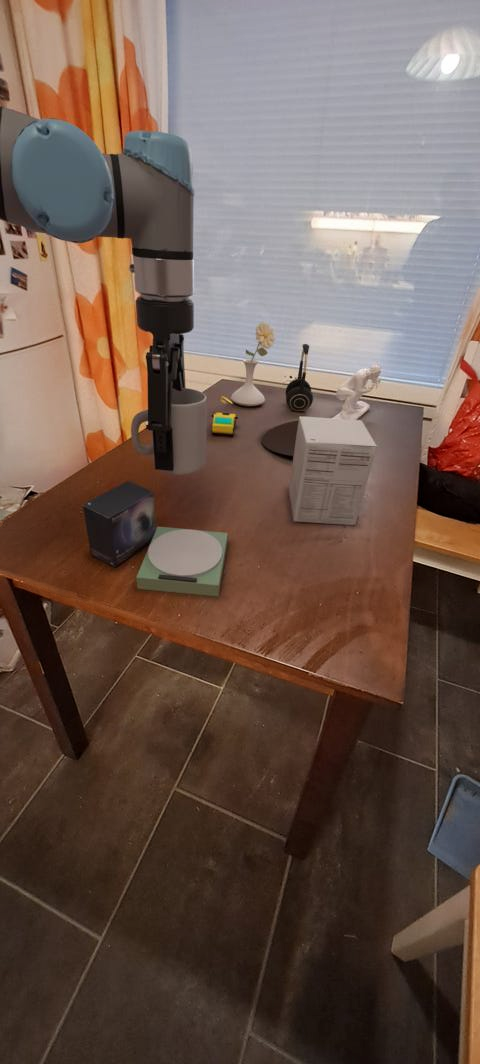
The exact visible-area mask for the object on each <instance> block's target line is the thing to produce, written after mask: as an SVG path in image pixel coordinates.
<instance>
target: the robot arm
mask: <svg viewBox="0 0 480 1064" xmlns="http://www.w3.org/2000/svg"><path fill="white" fill-rule="evenodd" d="M195 194H196V193H195V187H194V169H193V151H192V149H191V146H190V144H189V143H188V142H187V141H186V139H184V138H183V137H181V136H178V135H175V134H172V133H167V132H161V131H155V130H151V131H149V130H148V131H147V130H132V131H129V132H127V133H126V134H125V135H124V138H123V148H122V153H104V152H102V151H101V150H100V148H99V146H98V145H97V144H96V143H95V141H94V140H93V139H91V137H90V136H89V135H88V134H86V132H84V130H82V129H80V128H79V127H77V126H76V125H74V124H72V123H70V122H68V121H65V120H62V119H58V118H54V117H51V118H40V119H39V118H36V117H34V116H31V115H28V114H26V113H23V112H20V111H17V110H14V109H12V108H9V107H4V106H2V105H0V221H4V222H7V223H9V224H12V225H16V226H20V227H23V229H25V230H26V231H28V232H31V233H39V234H46V235H47V236H51V237H53V238H55V239H58V240H59V241H65V242H69V243H73V244H85V243H88V242H90V241H93V240H95V238H114V239H115V238H117V239H129V240H130V242H131V254H132V263H130V264H129V267H128V269H129V271H130V273H132V274H134V277H133V279H134V280H133V282H134V290H135V292H136V293H138V294H139V296H138V297H137V298H136V299H135V313H136V324H137V327H138V329H140V330H141V331H143V332H145V333H148V332H149V333H150V334H151V335H152V344H151V345H149V351H147V352H146V354H145V362H146V371H147V410H148V421H147V424H145V429H146V430H148V431H151V432H152V431H153V445H154V461H155V465H154V470H157V471H160V470H168V471H173V469H174V463H173V434H172V428H171V425H170V421H171V404H172V388H173V389H175V390H178V391H181V388H187V387H186V386H187V385H186V371H185V370H186V368H185V354H184V353H185V351H184V350H185V349H184V347H185V346H184V345H185V344H184V341H185V337H184V334H187V333H190V332H192V331H193V330H194V328H195V312H194V311H195V309H194V308H195V307H194V306H195V303H194V302H193V300H192V299H191V297H192V296H193V295H194V294H195V259H194V201H195V200H194V197H195Z"/></svg>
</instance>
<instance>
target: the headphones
mask: <svg viewBox="0 0 480 1064" xmlns="http://www.w3.org/2000/svg"><path fill="white" fill-rule="evenodd" d="M309 351H310V345H309V344H308V343H303V344H302V352H301V357H300V361H299V368H298V374H297V378H295V379H294V380H293V379H292V380H291V381H290V382H289V383H288V384H287V386H286V387H285V403H286V405H287V407H288V408H289V409H290V410H292V411H295V412H303V411H306V410H308V409H309V408H310V407H311V406H312V404H313V401H314V395H313V393H312V387H311V385H310V383H309V382H308V381H307V380H306V375H307V366H308V365H307V364H308V355H309Z"/></svg>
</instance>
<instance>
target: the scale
mask: <svg viewBox="0 0 480 1064" xmlns="http://www.w3.org/2000/svg"><path fill="white" fill-rule="evenodd" d="M155 530H156V531H155V534H154V536H153V539H152V541H151V543H150V544H149V546H148V548H147V551H146V553H145V555H144V558H143V560H142V563H141V565H140V568H139V570H138V572H137V574H136V577H135V579H136V586H137V587H136V588H137V589H138V590H146V591H156V592H165V593H167V592H168V593H176V594H186V595H195V596H196V595H197V596H207V597H217V598H219V594H220V590H221V583H222V577H223V572H224V566H225V561H226V560H225V559H226V554H227V548H228V540H229V539H228V538H229V533H228V532H221V531H209V530H200V529H190V528H189V529H187V528H178V527H167V526H157V527H156V528H155Z"/></svg>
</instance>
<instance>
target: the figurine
mask: <svg viewBox="0 0 480 1064" xmlns="http://www.w3.org/2000/svg"><path fill="white" fill-rule="evenodd" d="M381 368H382V366H379V365H377V364H373V365H372V366H370V367H369V368H366V367H365V368H360V369H359V370H357V371H356V372H354V374H353V375H352V376H350V378H348V379H346V380H345V381H344V382H343V383H342V384H341V385H339V387H338V388H337V389H336V392H335V395H336V399H337V400H339V401H343V402H344V403H343V404H342V406H341V408H342V409H341V411H340V412H338V414H336V415H334V416H333V417H332V418H334V419H349V420H359V419H360V418H361V417H362V416H363V415H364V414H365V413H366V412H368V411H369V410H370V408H371V407H370V404H369V403H368V402H365V401H363V400H361V398H362V397H363V395H365V394H367V393H370V392H371V391H372V390H373V389H374V388H375V389H377V388H378V387H380V385H379V384H380V383H381V382H382V381H381V378H380V377H379V376H380V374H381V372H382V369H381ZM369 380H370V381H371V383H372V385H370V386H369V387H368V388H367V386H366V384H368V381H369Z"/></svg>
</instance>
